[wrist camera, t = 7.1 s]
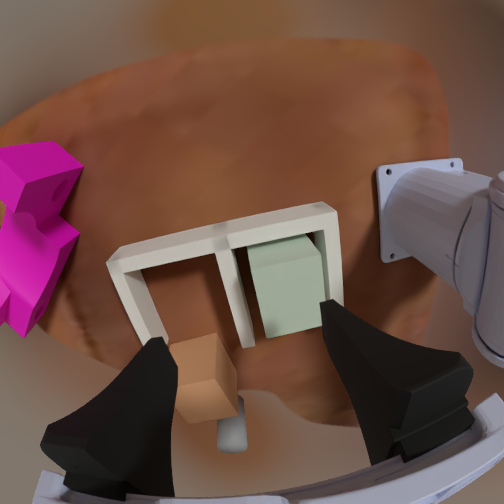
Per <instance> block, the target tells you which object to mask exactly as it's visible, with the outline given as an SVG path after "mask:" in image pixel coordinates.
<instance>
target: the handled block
mask: <svg viewBox="0 0 504 504" xmlns="http://www.w3.org/2000/svg"><path fill="white" fill-rule="evenodd" d="M169 351H170V353H171V355H172V357H173V358H174V360H175V362H176V364H177V366H178V388H177V394H176V401H175V408H176V409H177V411H179V413H180V414H181V415H182V416H183V417H184V419H185V420H186V421H187V422H188V423H189V424H193V423H200V422H205V421H212V420H217V448H218V450H219V451H221V452H224V453H229V454H235V453H241V452H243V451H245V450H246V449H247V436H246V425H245V411H244V400H243V398H242V397H241V396H239V395H238V394H237V375H236V369H235V367H234V365H233V363H232V361H231V359H230V358H229V356H228V354H227V352H226V350H225V348H224V346H223V344H222V342H221V340H220V338H219V336H218V334H217V333H213V334H209V335H205V336H202V337H198V338H194V339H190V340H186V341H182V342H178V343H174V344H170V348H169Z"/></svg>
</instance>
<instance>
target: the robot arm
mask: <svg viewBox="0 0 504 504" xmlns="http://www.w3.org/2000/svg"><path fill="white" fill-rule="evenodd" d="M450 163H451V166H450ZM387 169H389V174H387V173H386V170H387ZM376 179H377V190H378V203H379V220H380V252H381V260H382V261H383V262H384V263H389V262H392V261H396V260H400V259H403V258H407V257H410V256H413V257H414V258H416V259H417V260H418V261H420V262H421V263H422V264H424V265H425V266H426V267H428V268H429V269H430V270H431V271H433V272H434V273H435V274H437V275H438V276H439V277H440V278H442V279H443V280H444V281H445V282H447V283H448V284H449V285H450V286H451V287H453V288H454V289H455V290H456V291H458V292H459V293H460V294H461V295H462V297H463V300H464V306H463V308H464V309H465V310H467V312H468V313H470V314H471V315H472V316H473V317H474V320H473V324H472V336H473V340H474V342H475V345H476V346H477V348H478V350H479V351H480V352H481V353H482V355H483V356H484V357H485V358H487V359H488V360H489V361H490V362H492V363H494V364H495V365H497V366H499V367H502V368H504V171H503V172H501V173H500V174H498V175H497V176H496V178H490V177H487V176H484V175H480V174H476V173H472V172H469V171H465V170H463V163H462V160H461V159H460V158H449V159H437V160H427V161H417V162H407V163H399V164H390V165H382V166H379V167H378V168H377V169H376ZM392 253H393V255H392V257H390V255H391V254H392ZM319 304H320V312H321V321H322V331H323V338H324V341H325V344H326V347H327V350H328V352H329V355H330V357H331V359H332V361H333V363H334V365H335V367H336V369H337V371H338V373H339V375H340V377H341V379H342V381H343V383H344V385H345V387H346V389H347V391H348V394H349V396H350V398H351V401H352V404H353V407H354V409H355V412H356V415H357V418H358V421H359V424H360V428H361V431H362V434H363V437H364V440H365V444H366V448H367V451H368V455H369V459H370V463H371V466H370V467H367V468H365V469H361V470H358V471H355V472H352V473H349V474H346V475H343V476H339V477H336V478H332V479H328V480H325V481H321V482H317V483H313V484H309V485H304V486H300V487H294V488H289V489H284V490H278V491H272V492H265V493H257V494H248V495H235V496H221V497H175V494H174V487H173V478H172V467H171V426H172V419H173V413H174V407H175V401H176V394H177V388H178V366H177V364H176V362H175V360H174V358H173V357H172V355H171V353H170V351H169V349H168V347H167V345H166V343H165V341H164V339H163V337H162V336H160V337H154V338H150V339H149V340H148V341H147V342H146V344H145V345H144V346H143V347H142V348H141V349H140V351H139V352H138V353H137V354H136V355H135V357H134V358H133V359H132V360H131V361H130V363H129V364H128V365H127V366H126V367H125V368H124V369H123V371H122V372H121V373H120V374H119V375H118V376H117V377H116V378H115V379H114V380H113V381H112V382H111V383H110V384H109V385H108V386H107V387H106V388H105V389H104V390H103V391H102V392H101V393H100V394H98V395H97V396H96V397H94V398H93V399H92V400H90V401H89V402H88V403H86V404H85V405H84V406H82V407H81V408H79V409H78V410H76V411H75V412H73V413H71V414H70V415H68V416H66V417H64V418H62V419H60V420H58V421H56V422H54V423H51V424H49V425H48V426H47V429H46V431H45V433H44V436H43V438H42V441H41V444H40V446H41V449H42V451H43V452H44V453H45V454H46V455H47V456H48V457H49V458H50V459H51V460H53V461H54V462H55V463H56V464H57V465H59V466H60V467H61V468H63V469H64V470H65V471H66V475H65V476H63V475H61V474H59V473H55V472H52V471H49V470H46V469H43V470H42V473H41V476H40V479H39V482H38V485H37V489H36V492H35V495H34V498H33V502H32V504H437V503H439V502H441V501H443V500H444V499H446V498H448V497H449V496H451V495H453V494H454V493H456V492H457V491H459V490H460V489H462V488H463V487H465V486H467V485H468V484H469V483H471V482H472V481H474V480H475V479H477V478H478V477H479V476H481V475H482V474H484V473H485V472H486V471H488V470H489V469H490V468H492V467H493V466H494V465H496V464H497V463H498V462H499V461H500V460H501V459H502V458H503V457H504V402H503V401H502V400H501V398H500V397H499V396H498V395H497V393H494V394H492V395H491V396H490V397H488V398H487V399H485V400H484V401H482V402H481V403H480V404H478V405H477V406H475V407H474V408H473V409H472V410H471V412H470V411H469V410H468V408H467V407H466V406H468V401H467V399H466V398H465V394H466V392H467V390H468V388H469V385H470V383H471V381H472V378H473V369H472V367H471V366H470V364H469V363H468V362H467V361H466V360H465V358H464V357H463V356H462V355H461V354H460V353H459V352H452V351H444V350H437V349H432V348H427V347H423V346H419V345H416V344H413V343H410V342H407V341H404V340H401V339H398V338H396V337H393V336H391V335H389V334H387V333H384V332H382V331H380V330H379V329H377V328H375V327H373V326H371V325H370V324H368V323H366V322H365V321H363V320H362V319H360V318H359V317H357V316H356V315H354V314H353V313H351V312H350V311H349V310H347V309H346V308H344V307H343V306H342V305H340V304H339V303H338V302H336V301H335V300H334V299H330V300H326V301H323V302H319Z"/></svg>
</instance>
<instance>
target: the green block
mask: <svg viewBox="0 0 504 504" xmlns="http://www.w3.org/2000/svg"><path fill="white" fill-rule="evenodd" d="M247 250H248V256H249V262H250V268H251V273H252V277H253V282H254V286H255V290H256V295H257V299H258V303H259V308H260V312H261V317H262V321H263V325H264V330H265V334H266V338H272V337H276V336H281V335H285V334H290V333H294V332H298V331H302V330H306V329H310V328H314V327H318V326H322V321H321V312H320V304H319V302H323V301H325V290H324V279H323V269H322V259H321V254H320V252H319V251H318V250H317V248H316V247H315V246H314V245H313V243H312V242H311V241H310V239H309V238H308V237H307V235H306V234H305V233H304V234H299V235H295V236H290V237H285V238H281V239H276V240H271V241H267V242H262V243H257V244H253V245H248V246H247Z"/></svg>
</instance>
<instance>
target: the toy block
mask: <svg viewBox="0 0 504 504" xmlns="http://www.w3.org/2000/svg"><path fill="white" fill-rule="evenodd" d="M83 168H84V166H83V165H82V164H81V163H79V162H78V161H77V160H76V159H74V158H73V157H72V156H71V155H70V154H68V153H67V152H66V151H65V150H64V149H63V148H61V147H60V146H59V145H58V144H57V143H55V142H54V141H48V142H39V143H30V144H22V145H15V146H8V147H2V148H0V200H1V201H2V202H3V203H4V204H5V205H6V211H5V216H4V220H3V224H2V227H1V230H0V326H1V325H2V323H3V322H4V321H5V322H6V323H7V324H8V325H10V326H11V327H12V328H13V329H14V330H15V331H16V332H18V333H19V334H20V335H21V336H22V337H23V338H25V337H26V335H27V334H28V333H29V331H30V330H31V329H32V328H33V326H34V325H35V324H36V323H37V322H38V320H39V319H40V318H41V317H42V315H43V314H44V313H45V311H46V308H47V306H48V303H49V300H50V298H51V295H52V293H53V290H54V288H55V286H56V283H57V281H58V279H59V276H60V274H61V272H62V270H63V267H64V265H65V263H66V261H67V259H68V257H69V255H70V252H71V250H72V248H73V246H74V244H75V242H76V240H77V238H78V236H79V235H80V233H79V232H78V231H77V230H76V229H74V228H73V227H72V226H71V225H70V224H68V223H67V222H66V221H65V220H64V219H63V218H61V217H60V216H59V214H60V211H61V209H62V207H63V205H64V203H65V201H66V199H67V197H68V195H69V193H70V191H71V190H72V188H73V186H74V184H75V182H76V180H77V178H78V177H79V175H80V173H81V171H82V170H83Z"/></svg>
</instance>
